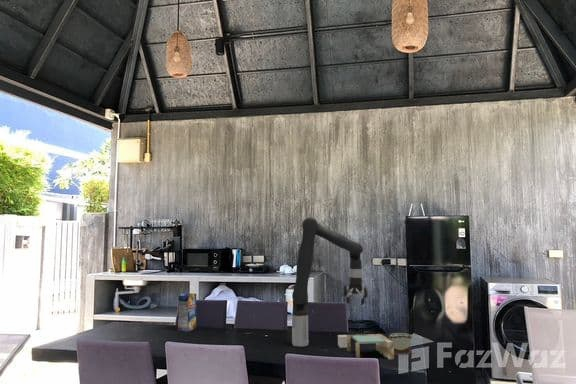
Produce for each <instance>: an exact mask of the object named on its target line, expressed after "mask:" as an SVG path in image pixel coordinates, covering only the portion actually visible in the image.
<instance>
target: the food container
mask: <svg viewBox="0 0 576 384" xmlns="http://www.w3.org/2000/svg"><path fill="white" fill-rule="evenodd" d="M388 339H390V340H391V341H393V342H394V355H410V354H411V343H412V342H411V341H412V339H413V337H412V335H411V334H410V333H404V332H393V333H390V334H389V336H388Z"/></svg>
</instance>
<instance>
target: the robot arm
mask: <svg viewBox="0 0 576 384" xmlns="http://www.w3.org/2000/svg"><path fill="white" fill-rule="evenodd" d="M301 227H302V236H301V237H302V238H301V243H300V246H299V250H298V254H297V259H296V260H297V261H296V269H295V270H296V273H295V283H294V287H293V290H292V293H291V296H292V327H291V345H292V346H293V347H307V346H308V345H309V293H308V291H309V286H308V285H309V280H310V277H311V276H310V275H311V271H312V267H313V261H314V250H315V239H316V236H318V237H320V238H322V239H324V240H326V241H328V242H330V243H331V244H332V245H335V246H337V247H338V248H340V249H344V250H346V251H347V252H348V253H349V273H348V274H349V279H348V280H349V285H344V287H343V288H344V289H343V296H344V297H346V303H347V304H351V295H353V294H354V295H359V296H360V297H361V298H360V301H361V302H360V305H361V306H363V305H365V299H366V298H368V295H369V294H368V287H367V286H365V287H364V286H363V270H362V269H363V263H362V262H363V261H362V259H361V254H362V253H363V251H364V249H363V246H362V245H361V244H360V243H359V242H356V241H354V240H352V239H349V238H348V237H346V236H344V235H342V234H340V233H339V232H335V231H333V230H331V229H329V228H327V227H324V226H323V225H321V224H319V222H318V221H317V220H316V219H315V218H314V217H307V218H305V219H304V220H303V221H302V224H301ZM348 290H349V292H348Z"/></svg>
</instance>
